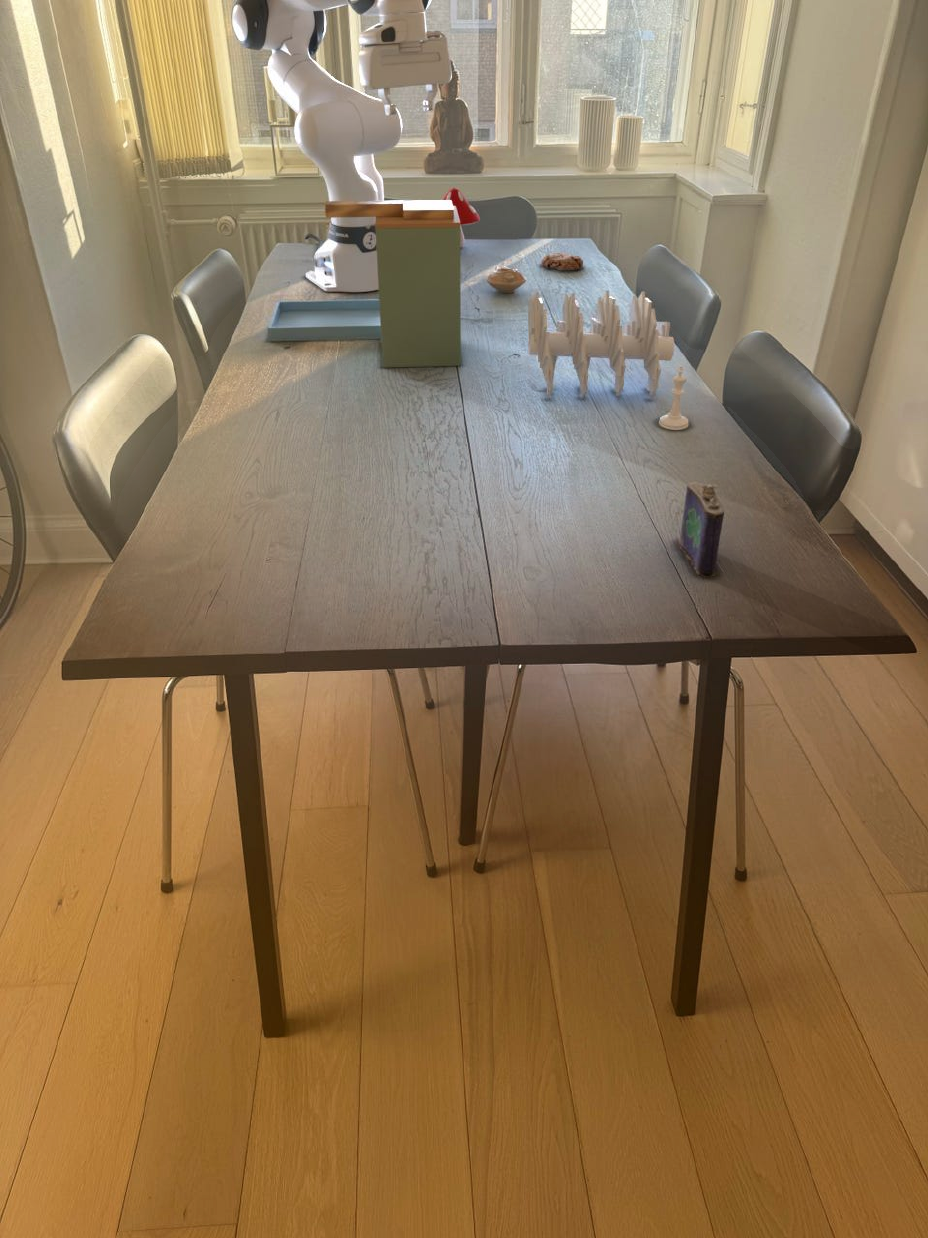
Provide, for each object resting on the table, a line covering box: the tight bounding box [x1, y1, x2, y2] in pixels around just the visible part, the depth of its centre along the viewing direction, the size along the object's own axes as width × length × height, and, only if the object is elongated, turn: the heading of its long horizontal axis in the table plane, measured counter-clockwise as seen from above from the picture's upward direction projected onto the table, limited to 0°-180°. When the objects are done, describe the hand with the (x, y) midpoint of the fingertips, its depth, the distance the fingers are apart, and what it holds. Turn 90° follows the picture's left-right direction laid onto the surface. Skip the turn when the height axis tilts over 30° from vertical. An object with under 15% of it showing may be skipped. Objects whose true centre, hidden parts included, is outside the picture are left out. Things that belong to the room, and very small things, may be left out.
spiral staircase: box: [527, 290, 675, 399], centre depth 166 cm, size 18×18×25 cm
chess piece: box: [658, 365, 690, 431], centre depth 156 cm, size 5×5×10 cm
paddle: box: [324, 199, 454, 220], centre depth 172 cm, size 23×8×2 cm, turn 94°
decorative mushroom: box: [441, 187, 481, 248], centre depth 253 cm, size 14×14×15 cm
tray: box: [267, 298, 381, 342], centre depth 202 cm, size 32×19×3 cm, turn 94°
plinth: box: [375, 206, 462, 369], centre depth 180 cm, size 15×14×26 cm
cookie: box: [540, 252, 584, 271], centre depth 240 cm, size 10×11×3 cm
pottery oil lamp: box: [485, 265, 527, 294], centre depth 223 cm, size 9×12×7 cm
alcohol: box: [355, 154, 385, 201], centre depth 243 cm, size 9×9×30 cm
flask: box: [678, 481, 725, 578], centre depth 120 cm, size 9×3×11 cm, turn 8°
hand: (410, 112), depth 191 cm, fingers open, 8 cm apart
